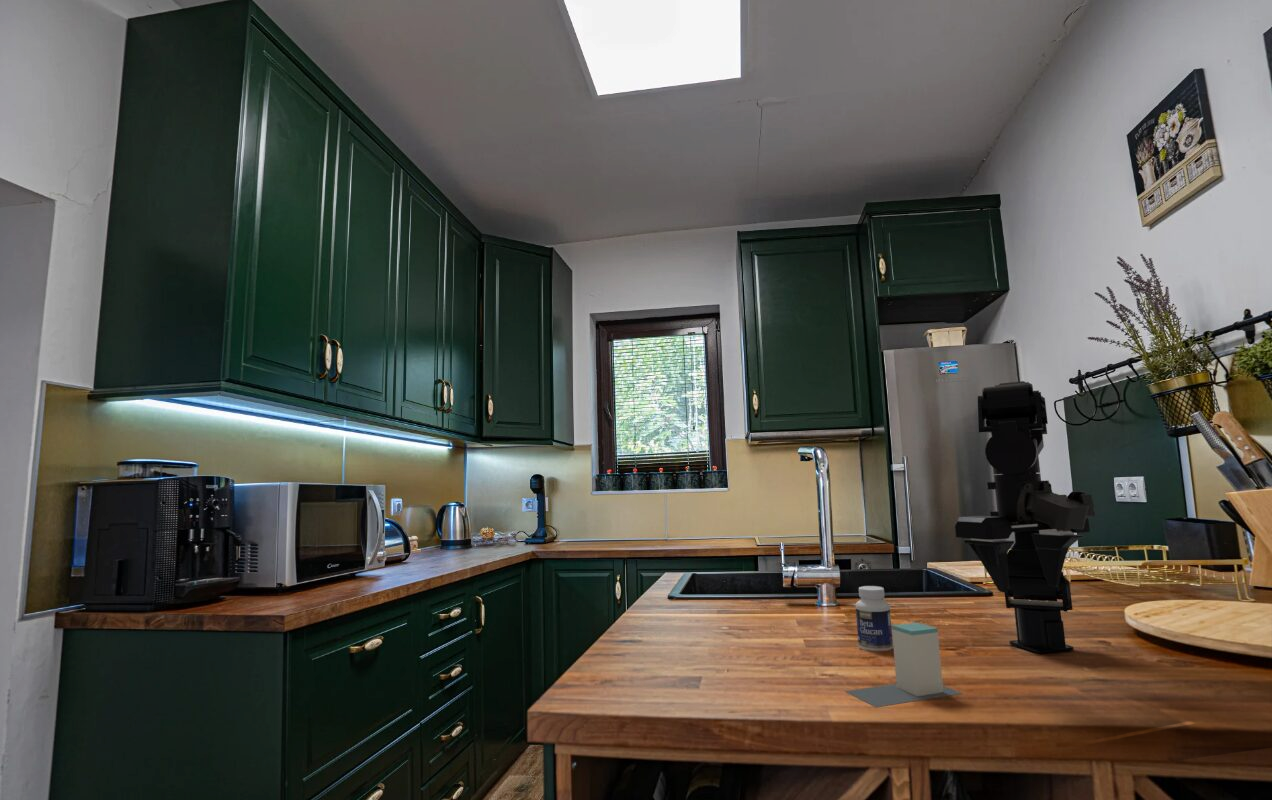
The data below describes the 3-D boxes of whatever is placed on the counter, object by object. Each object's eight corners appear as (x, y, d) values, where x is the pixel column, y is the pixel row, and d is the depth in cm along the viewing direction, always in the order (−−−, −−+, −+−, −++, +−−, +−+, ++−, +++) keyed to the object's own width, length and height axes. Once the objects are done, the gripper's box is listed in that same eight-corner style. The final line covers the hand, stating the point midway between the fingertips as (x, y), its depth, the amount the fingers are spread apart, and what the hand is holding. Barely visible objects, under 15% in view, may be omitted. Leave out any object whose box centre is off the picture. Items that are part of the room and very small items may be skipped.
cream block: (922, 683, 89) (916, 622, 90) (943, 692, 86) (937, 628, 87) (896, 687, 88) (891, 625, 89) (917, 696, 85) (911, 631, 85)
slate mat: (927, 681, 91) (926, 679, 91) (962, 695, 85) (962, 693, 85) (844, 693, 88) (844, 691, 88) (875, 709, 81) (875, 706, 81)
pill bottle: (857, 651, 107) (852, 590, 109) (859, 643, 112) (855, 584, 114) (893, 653, 105) (887, 591, 107) (893, 645, 110) (888, 585, 112)
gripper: (1017, 474, 82) (1031, 604, 80) (1121, 470, 88) (1137, 591, 86) (947, 476, 92) (957, 592, 90) (1045, 473, 98) (1057, 580, 96)
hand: (1028, 589), depth 90 cm, fingers open, 9 cm apart
